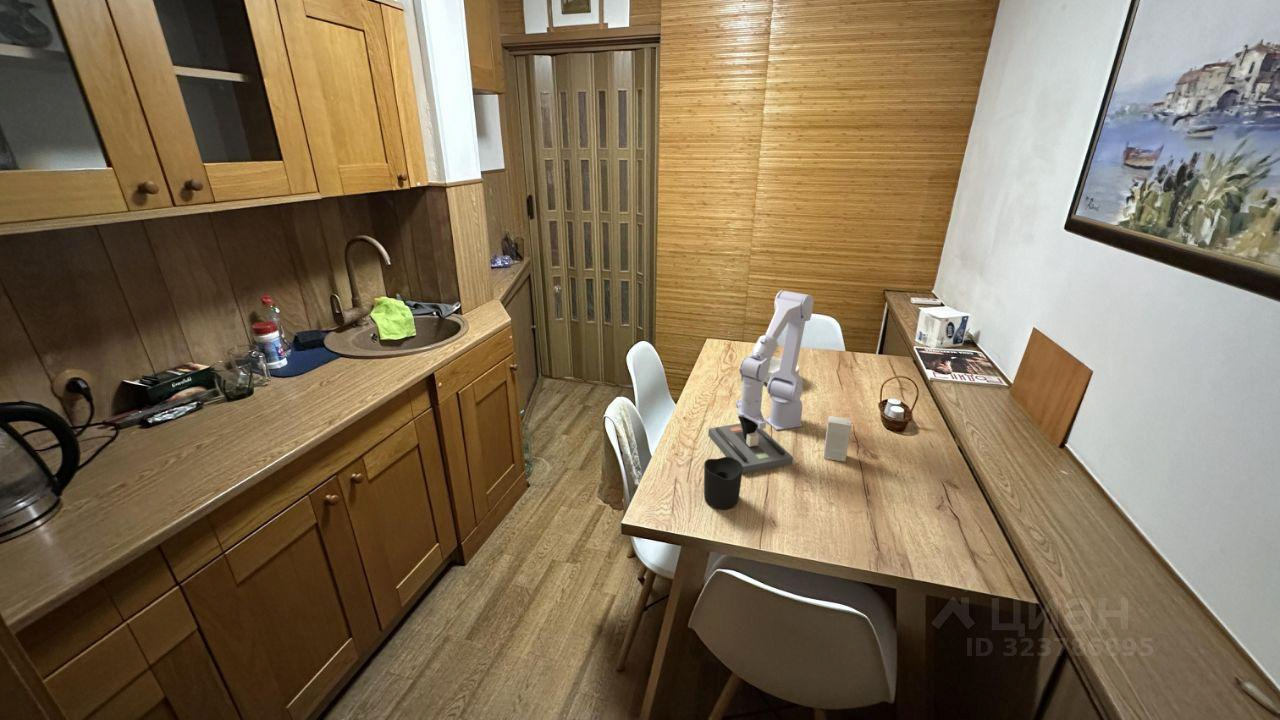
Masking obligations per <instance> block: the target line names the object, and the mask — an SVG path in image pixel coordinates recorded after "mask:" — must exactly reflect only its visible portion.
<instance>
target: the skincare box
mask: <svg viewBox="0 0 1280 720" xmlns="http://www.w3.org/2000/svg"><path fill="white" fill-rule="evenodd" d="M851 428H852V423H851V418H847V417H840V416H833V415H832V416H831V415H828V418H827V425H826V434H825V440H824V441H825V442H824V447H823V459H827V460H832V461H840V462H846V460H847V454H848V448H849V442H850V436H851V430H852V429H851Z"/></svg>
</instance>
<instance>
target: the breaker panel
mask: <svg viewBox="0 0 1280 720" xmlns="http://www.w3.org/2000/svg"><path fill="white" fill-rule="evenodd" d="M755 432H756V433H757V434H758V435H759V440H758V445H757V446H751V447H749V446H748V445H747V444H746V440H745V439H744V435H743V430H742V425H741V423H740V422H739V423H735V424H729V425H723V426H717V427H710V428H708V437H709V438H710V439H711V441H712V442H713V443H714V444H715V446H716V447H717V448H718V449H719V450H720V451H721V453H723V454H724V457H731V458H734V459H736V460H738V461H739V462H740V463H741V464H742V467H743V470H742V475H746V474H751V473H756V472H757V473H758V472H763V471H768V470H772V469H777V468H782V467H788V466H792V465H793V461H794V456H792V454H790V452H788V451H787V450H786V449H785V448H784V447H783V446H782V445H781V444H779V442H777V440H775V439H774V438H773V437H772V436H771V435H770V434H769V433H768V432H767V431H765V430H764V429H759V428H758V427H757V429H756V431H755Z"/></svg>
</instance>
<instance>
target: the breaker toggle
mask: <svg viewBox="0 0 1280 720" xmlns="http://www.w3.org/2000/svg"><path fill="white" fill-rule="evenodd" d="M758 440H759V435H758V434H757V433H756V432H755V433H749V434H747V439H746V444H747V445H748V446H749V447H751V446H757V445H758Z"/></svg>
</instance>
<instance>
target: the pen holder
mask: <svg viewBox="0 0 1280 720" xmlns="http://www.w3.org/2000/svg"><path fill="white" fill-rule="evenodd" d="M742 470H743V467H742V464H741V463H740V462H739V461H738V460H736V459H734V458H731V457H726V456H724V457H720V458H708V459H706V460H705V462H704V468H703V471H704V472H703V473H704V474H703V489H704V491H703V493H704V494H703V496H704V497H703V498H704V500H705V502H706V503H707V504H708V505H709V506H710V507H712V508H714V509H717V510H729V509H732V508H734V507H736V506H737V505H738V503H739V498H740V491H741V486H742V485H741V483H742V479H743V477H742V476H743V474H742Z"/></svg>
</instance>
